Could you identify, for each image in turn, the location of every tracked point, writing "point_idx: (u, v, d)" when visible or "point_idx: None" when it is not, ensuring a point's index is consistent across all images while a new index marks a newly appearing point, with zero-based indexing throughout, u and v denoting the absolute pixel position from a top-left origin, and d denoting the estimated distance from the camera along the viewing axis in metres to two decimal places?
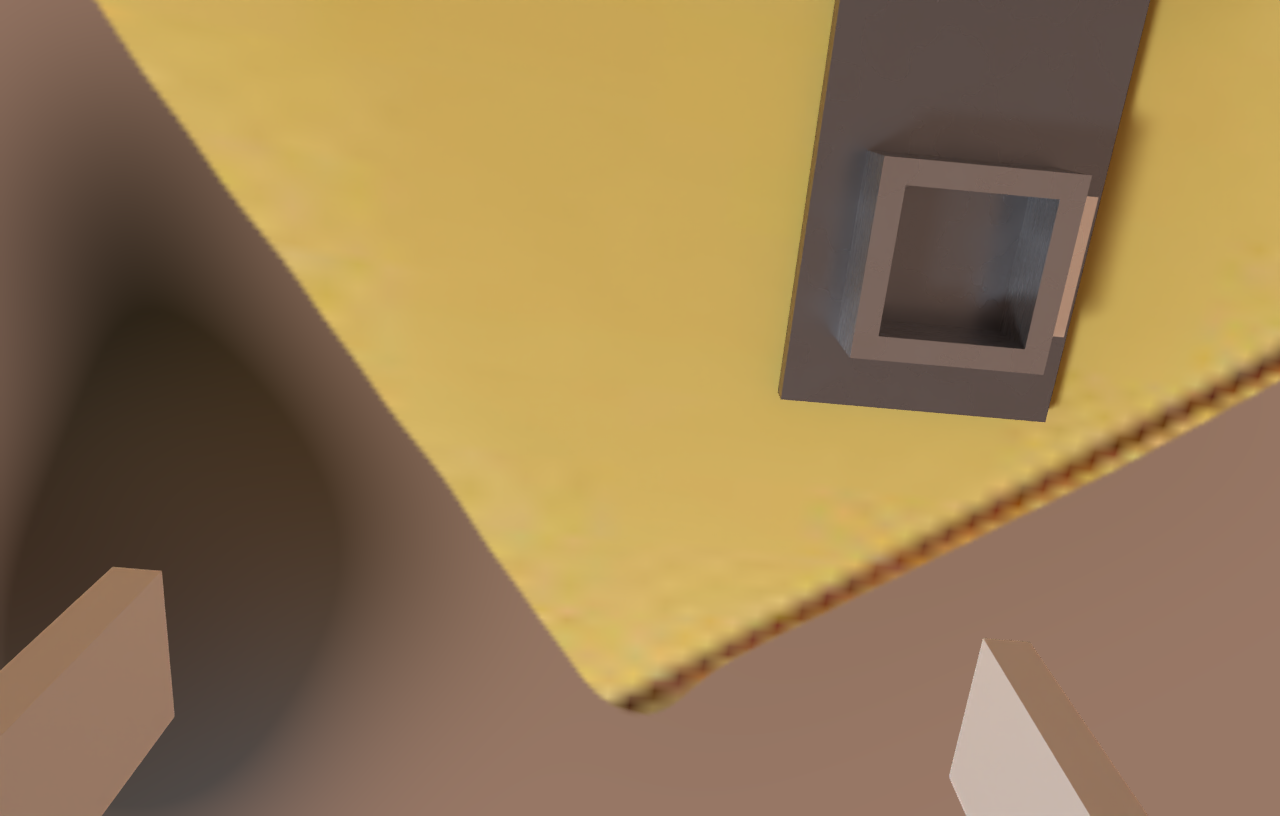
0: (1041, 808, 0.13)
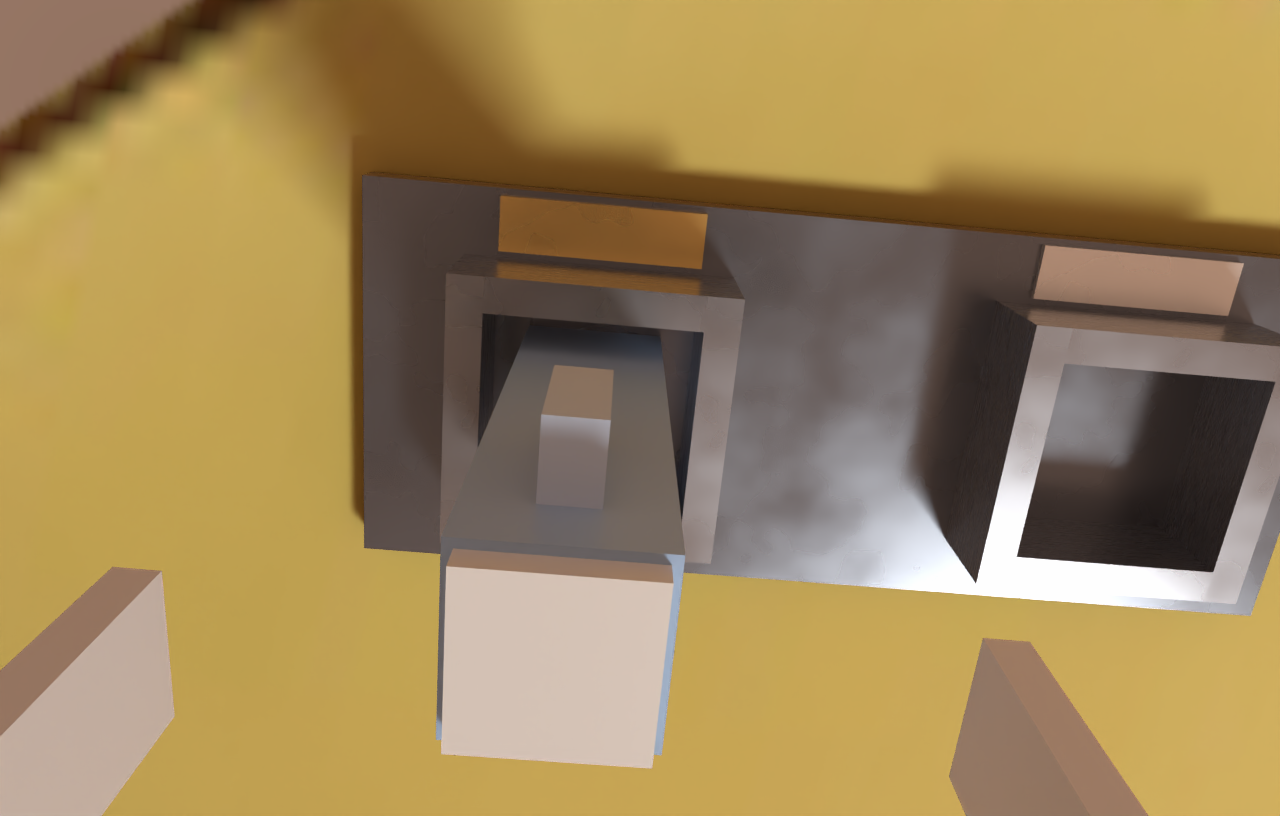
0: (1041, 808, 0.13)
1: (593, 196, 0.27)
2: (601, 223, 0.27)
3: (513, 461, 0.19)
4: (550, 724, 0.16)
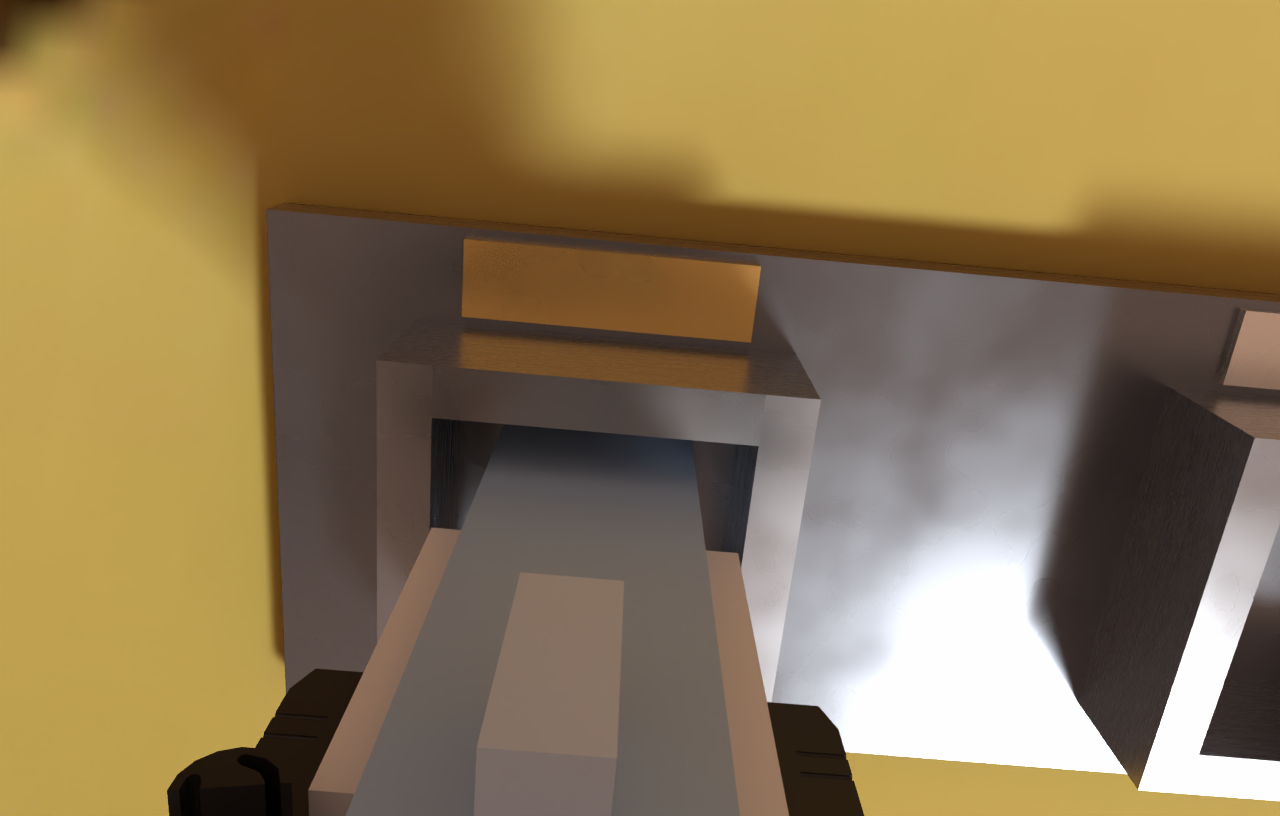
0: None
1: (597, 239, 0.19)
2: (608, 278, 0.19)
3: (444, 756, 0.10)
4: None
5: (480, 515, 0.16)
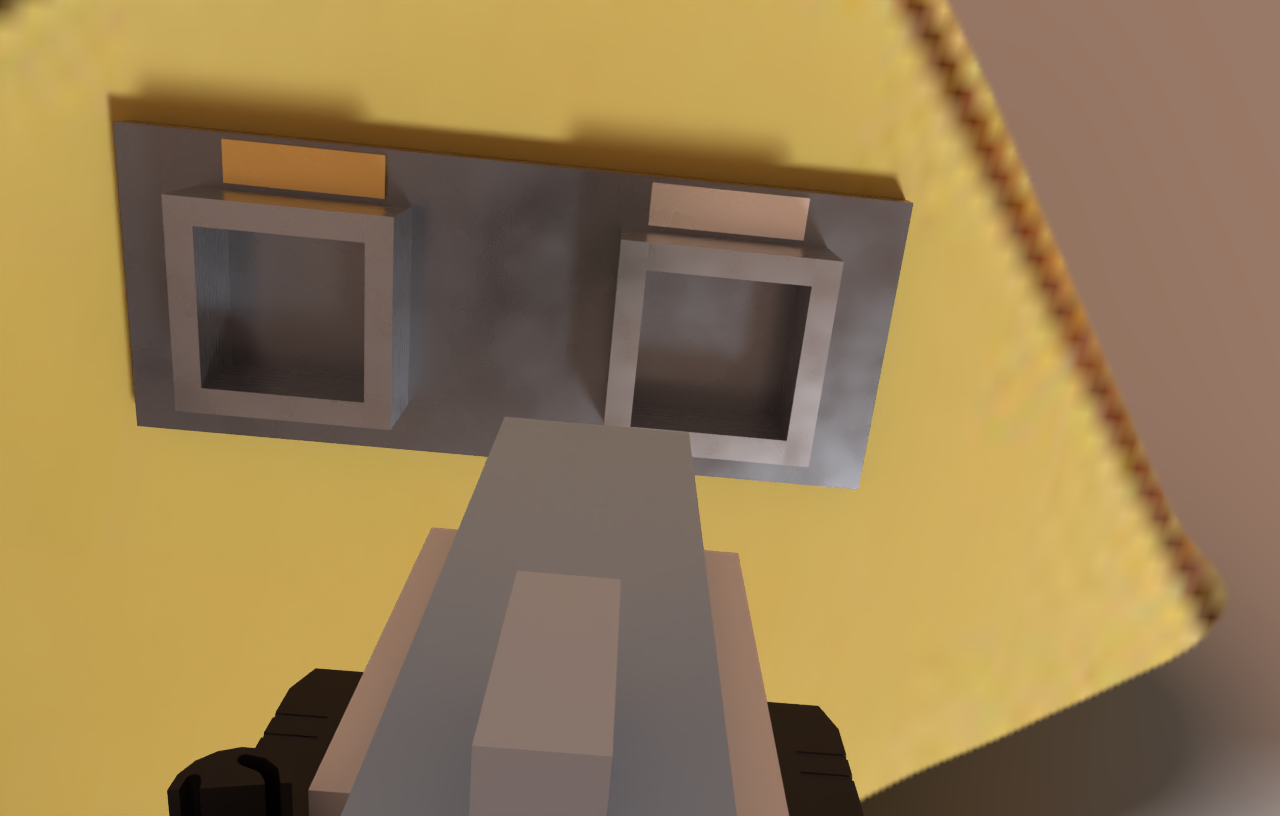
0: None
1: (296, 140, 0.35)
2: (302, 161, 0.35)
3: (440, 754, 0.10)
4: None
5: (478, 514, 0.16)
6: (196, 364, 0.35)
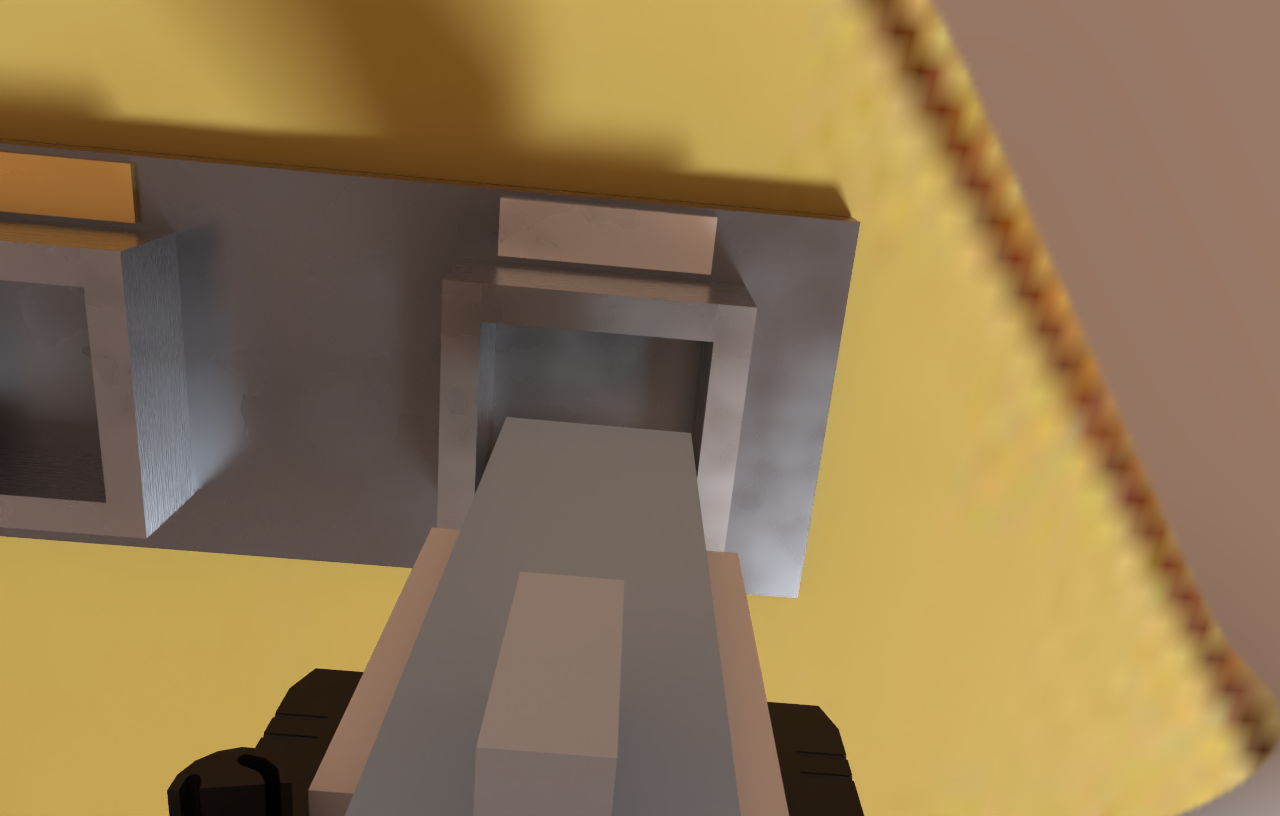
0: None
1: (9, 144, 0.26)
2: (17, 173, 0.26)
3: (443, 756, 0.10)
4: None
5: (480, 514, 0.16)
6: None
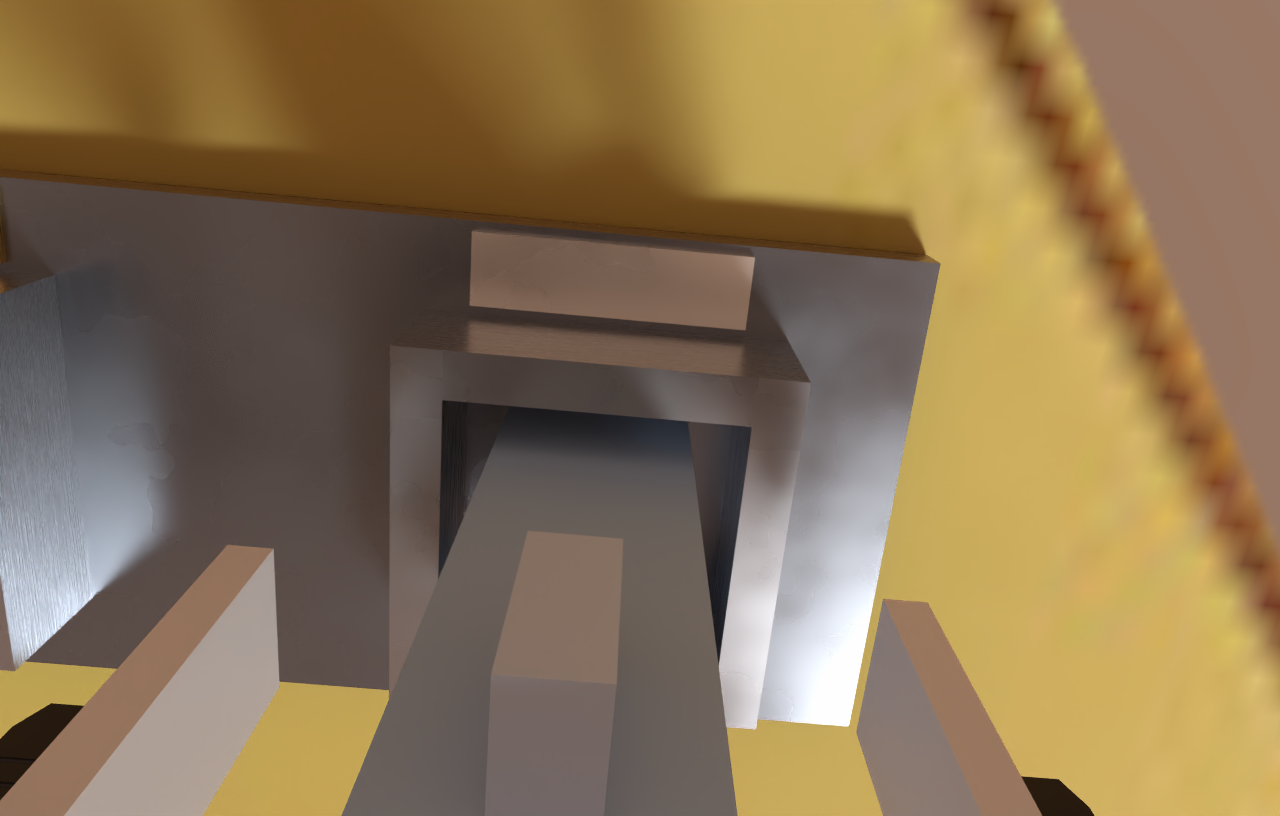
0: (919, 751, 0.13)
1: None
2: None
3: (457, 697, 0.11)
4: None
5: (487, 489, 0.17)
6: None
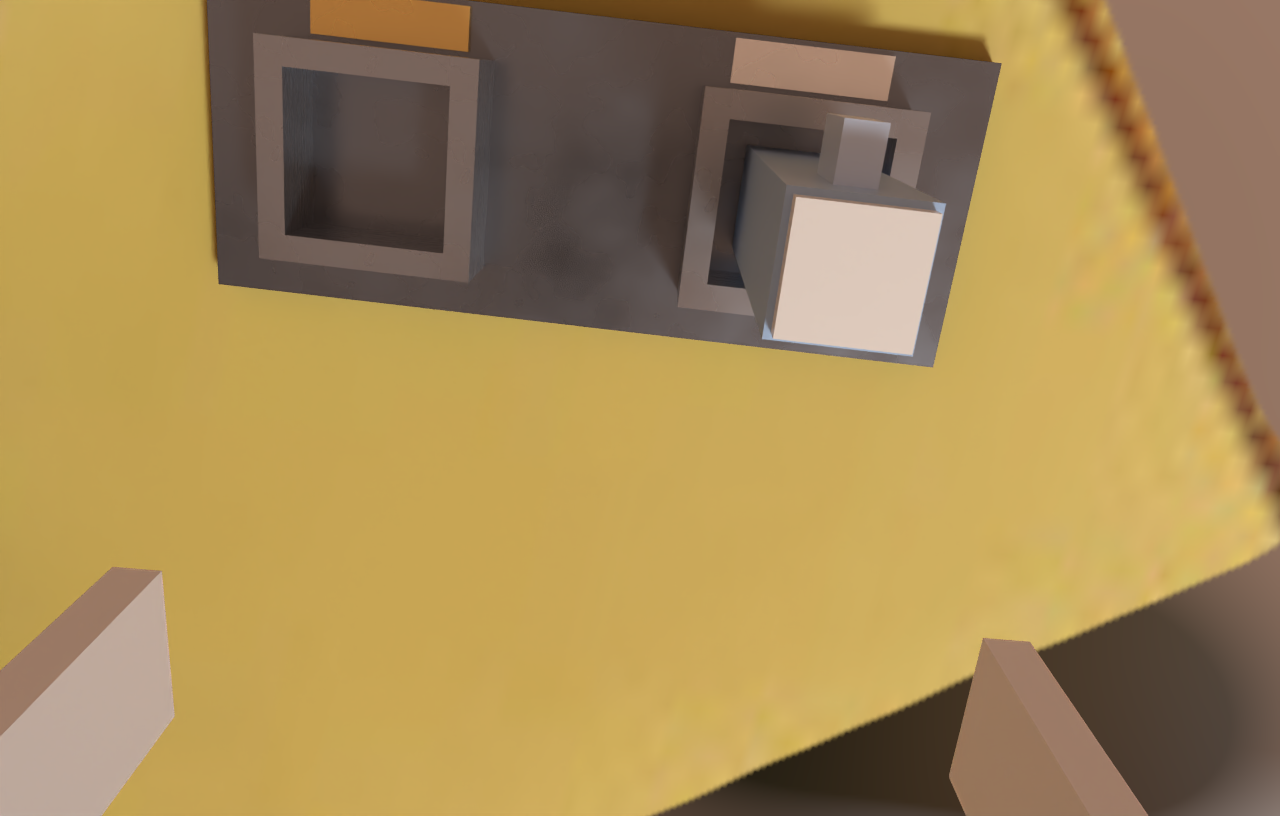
0: (1041, 808, 0.13)
1: None
2: (388, 12, 0.35)
3: (801, 174, 0.27)
4: (848, 318, 0.24)
5: (763, 155, 0.32)
6: (281, 210, 0.35)
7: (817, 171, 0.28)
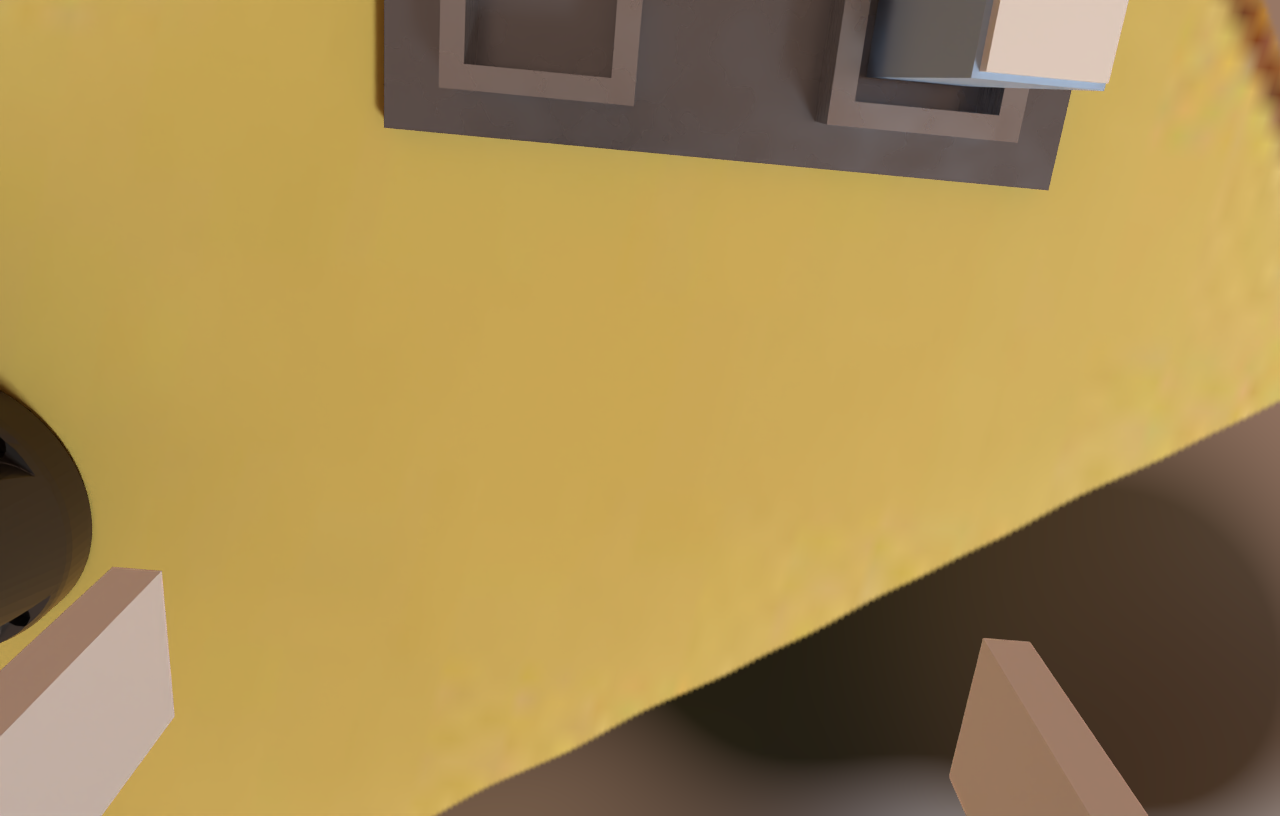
0: (1041, 808, 0.13)
1: None
2: None
3: None
4: (1053, 49, 0.27)
5: None
6: (461, 39, 0.38)
7: None
